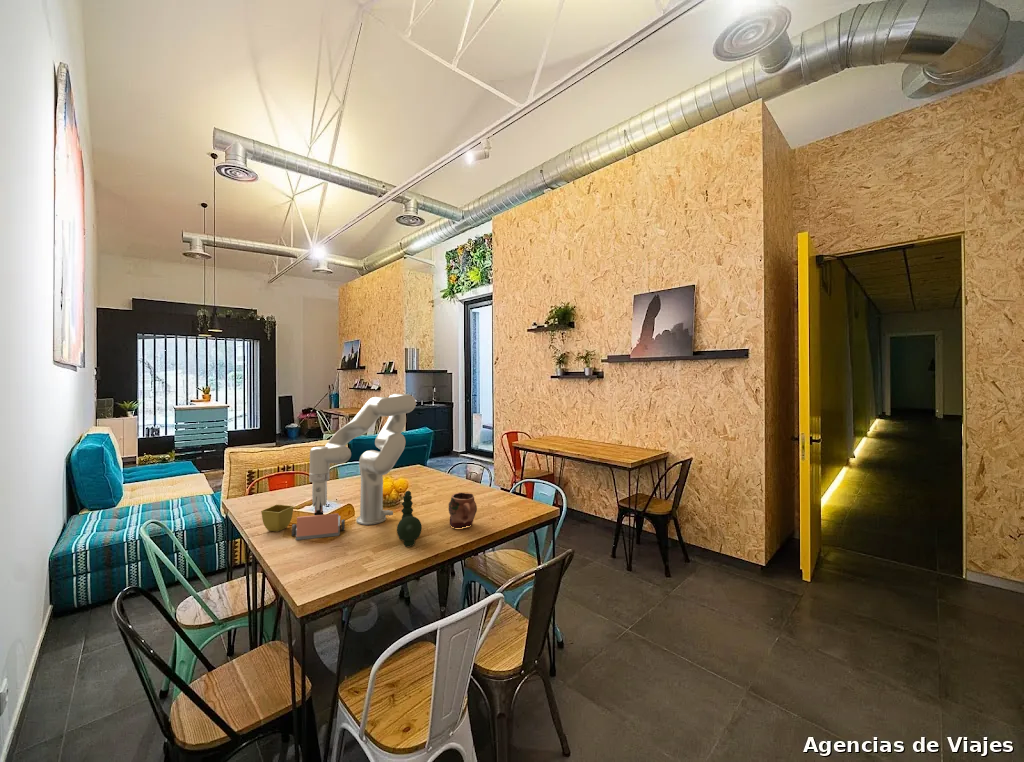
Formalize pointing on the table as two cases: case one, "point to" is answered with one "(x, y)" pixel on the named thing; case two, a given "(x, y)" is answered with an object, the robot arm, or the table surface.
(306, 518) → the panel
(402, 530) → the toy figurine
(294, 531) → the trailer
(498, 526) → the table surface
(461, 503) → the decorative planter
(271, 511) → the flower pot
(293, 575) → the table surface
